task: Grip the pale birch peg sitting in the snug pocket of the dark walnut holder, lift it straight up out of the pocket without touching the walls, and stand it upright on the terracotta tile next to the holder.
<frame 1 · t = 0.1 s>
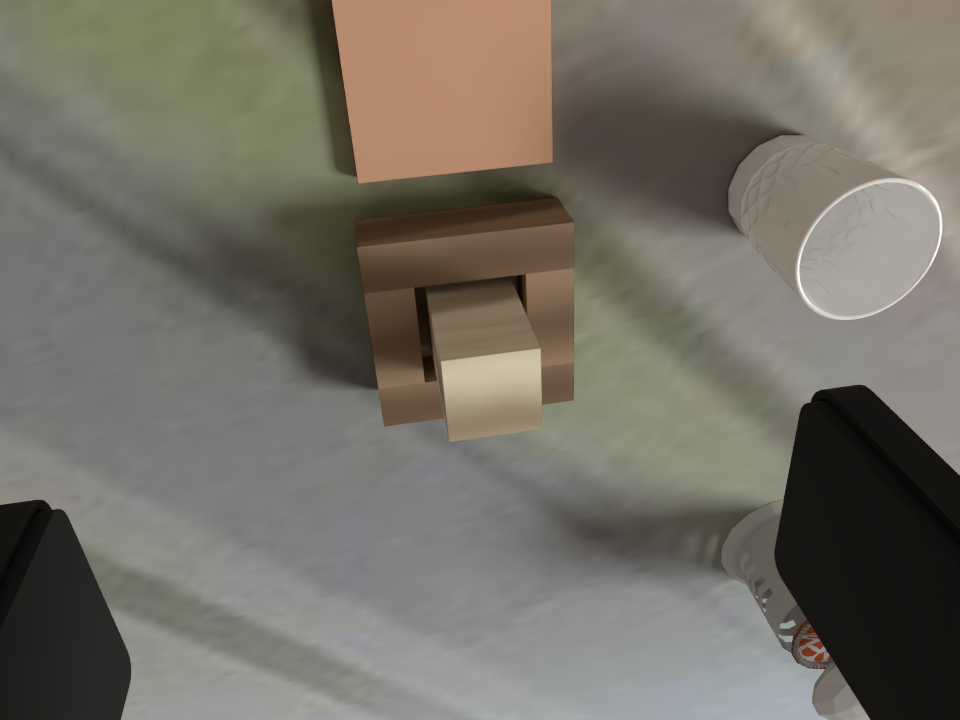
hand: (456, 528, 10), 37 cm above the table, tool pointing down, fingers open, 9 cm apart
terracotta tile: (446, 66, 43), on the table
walnut holder: (464, 299, 50), on the table
birch peg: (466, 306, 49), point 1 cm above the table, touching walnut holder
french press: (781, 546, 67), on the table
white cup: (776, 186, 50), on the table
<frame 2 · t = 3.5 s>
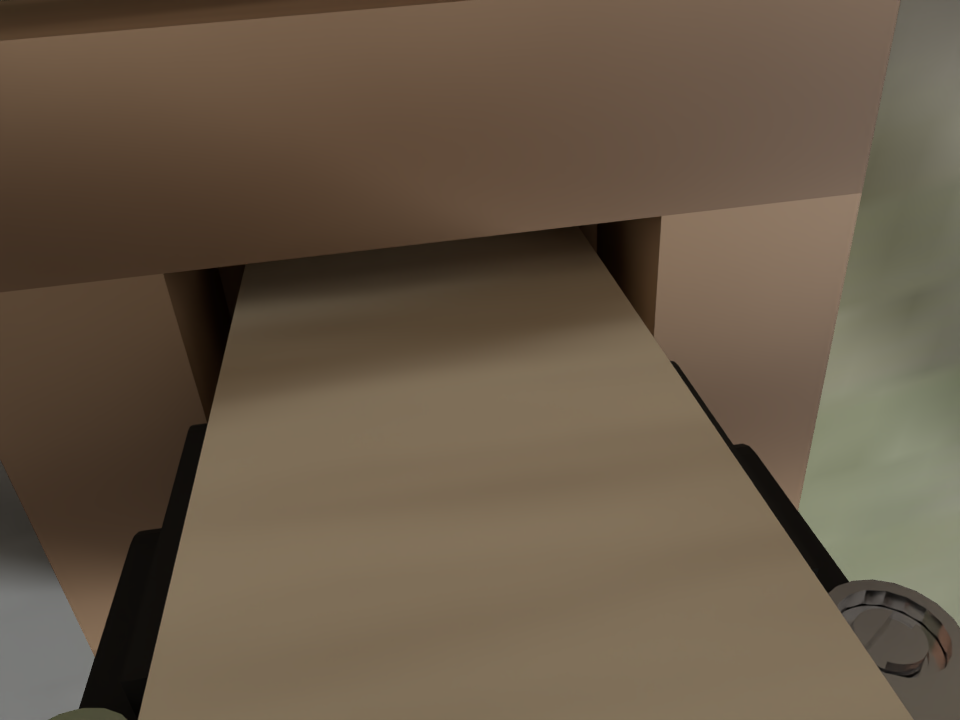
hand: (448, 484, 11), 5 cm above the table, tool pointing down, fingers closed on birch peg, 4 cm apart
walnut holder: (418, 317, 15), on the table
birch peg: (423, 343, 14), point 1 cm above the table, touching gripper, walnut holder
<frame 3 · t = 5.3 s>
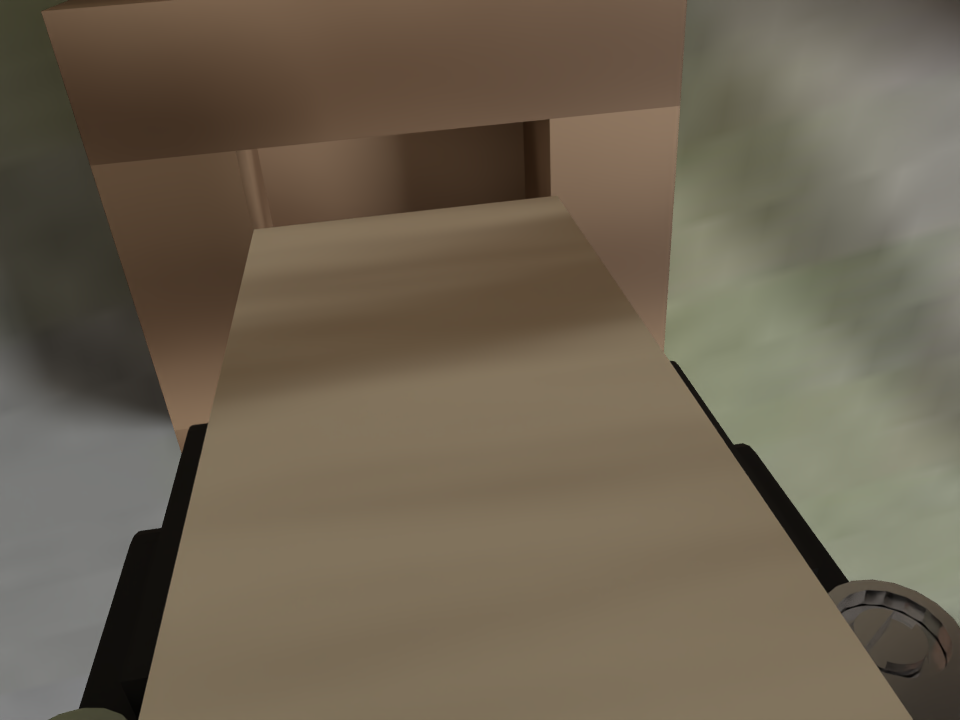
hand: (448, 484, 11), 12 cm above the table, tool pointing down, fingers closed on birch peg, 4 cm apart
walnut holder: (400, 215, 21), on the table
birch peg: (423, 343, 14), point 8 cm above the table, touching gripper
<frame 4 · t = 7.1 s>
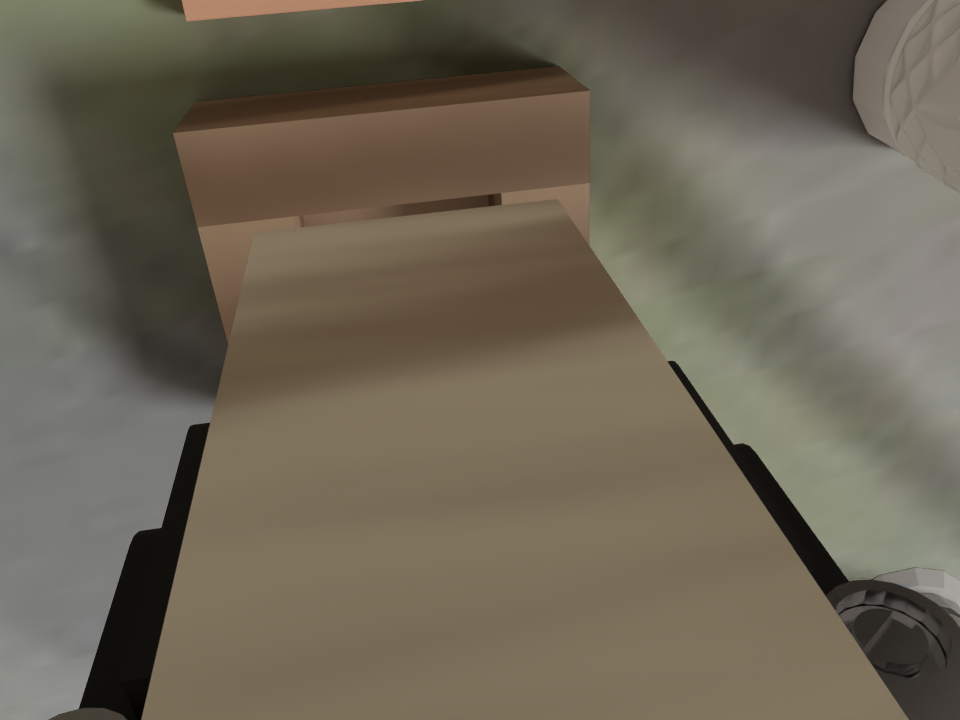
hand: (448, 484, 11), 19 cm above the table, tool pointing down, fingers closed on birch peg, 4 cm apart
walnut holder: (401, 252, 29), on the table
birch peg: (423, 345, 14), point 15 cm above the table, touching gripper
french press: (890, 636, 46), on the table
white cup: (935, 56, 29), on the table
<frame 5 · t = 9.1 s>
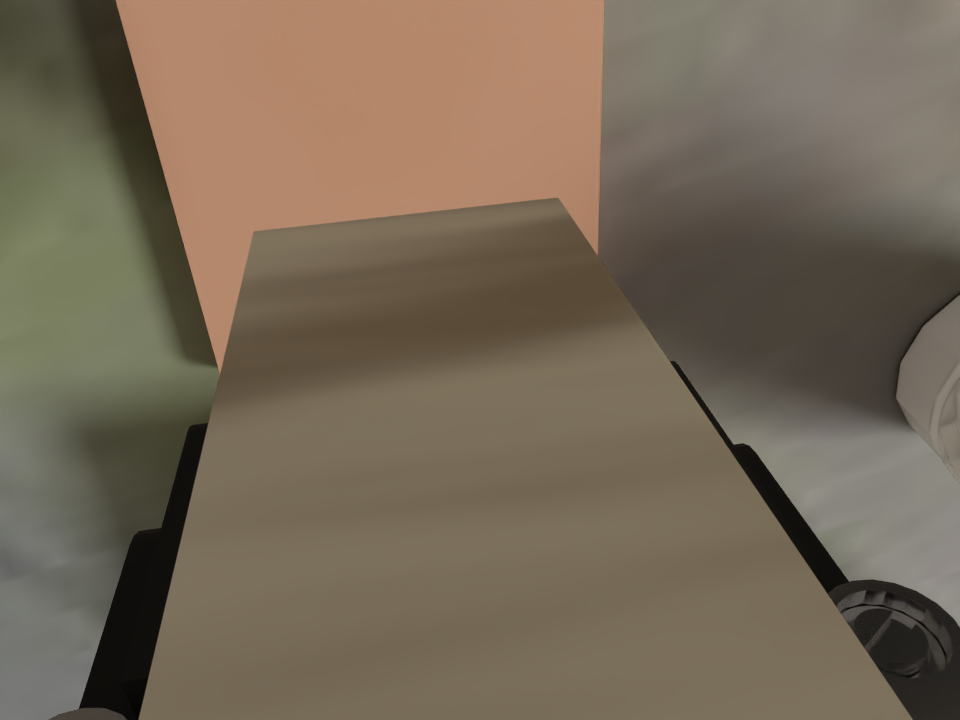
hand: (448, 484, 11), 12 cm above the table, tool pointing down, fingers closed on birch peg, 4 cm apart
terracotta tile: (390, 171, 21), on the table
birch peg: (423, 345, 14), point 9 cm above the table, touching gripper
when the fingers open (6 cm above the table, at t = 10.6 s): birch peg drops 1 cm, resting on terracotta tile.
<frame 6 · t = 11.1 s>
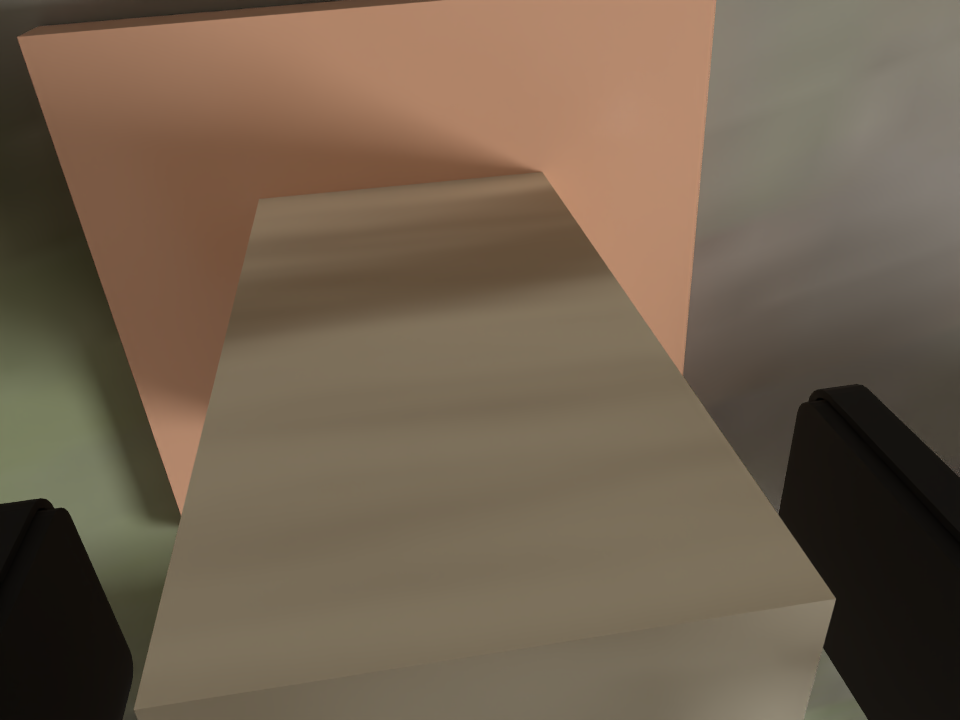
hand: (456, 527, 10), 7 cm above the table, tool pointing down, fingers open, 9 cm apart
terracotta tile: (413, 290, 16), on the table
birch peg: (415, 310, 15), point 1 cm above the table, touching terracotta tile
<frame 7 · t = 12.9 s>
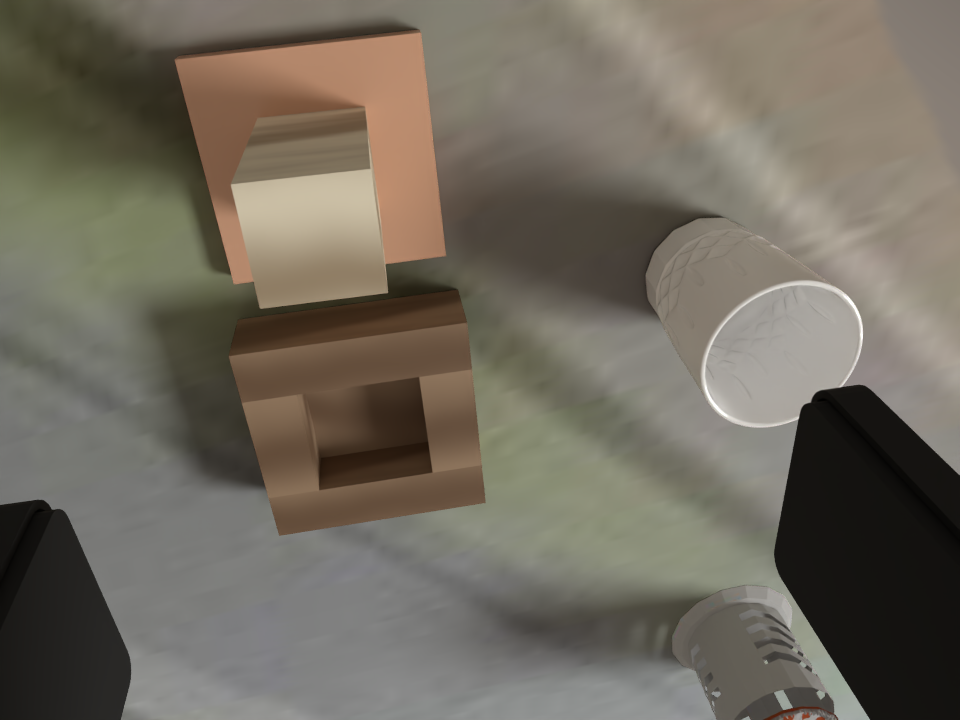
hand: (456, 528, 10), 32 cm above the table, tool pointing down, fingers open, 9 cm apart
terracotta tile: (322, 160, 39), on the table
walnut holder: (366, 395, 47), on the table
birch peg: (320, 164, 39), point 1 cm above the table, touching terracotta tile
french press: (736, 633, 63), on the table
white cup: (699, 270, 46), on the table
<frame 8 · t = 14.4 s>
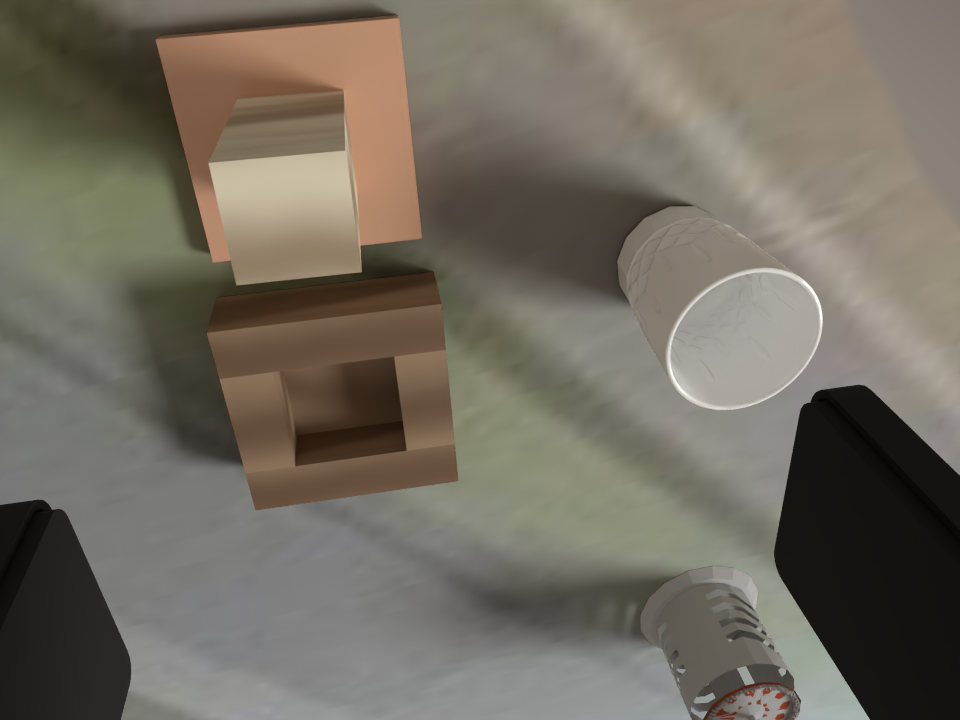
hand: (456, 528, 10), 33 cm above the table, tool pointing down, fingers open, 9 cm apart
terracotta tile: (301, 141, 40), on the table
walnut holder: (342, 374, 48), on the table
birch peg: (299, 146, 39), point 1 cm above the table, touching terracotta tile
french press: (703, 613, 64), on the table
white cup: (670, 257, 47), on the table
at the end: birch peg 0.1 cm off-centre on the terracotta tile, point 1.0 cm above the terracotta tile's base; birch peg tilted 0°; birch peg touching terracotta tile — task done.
